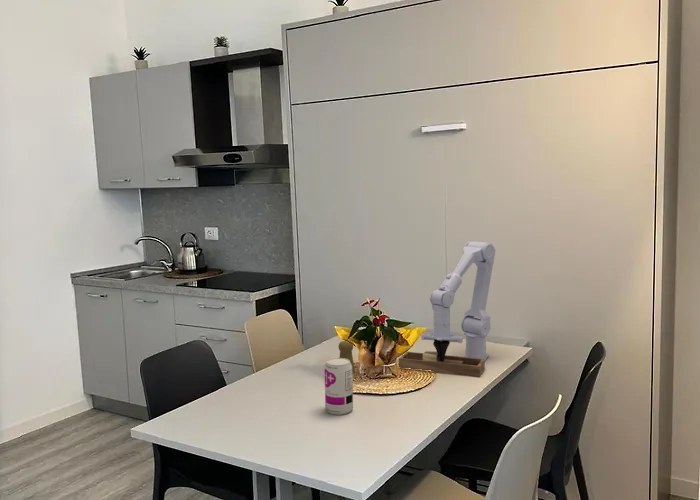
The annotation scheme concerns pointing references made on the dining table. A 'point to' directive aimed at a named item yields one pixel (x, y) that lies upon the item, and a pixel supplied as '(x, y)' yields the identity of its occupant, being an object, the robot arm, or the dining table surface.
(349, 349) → the olive pepper mill
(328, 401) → the supplement can
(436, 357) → the maple block
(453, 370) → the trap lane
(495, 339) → the dining table surface
